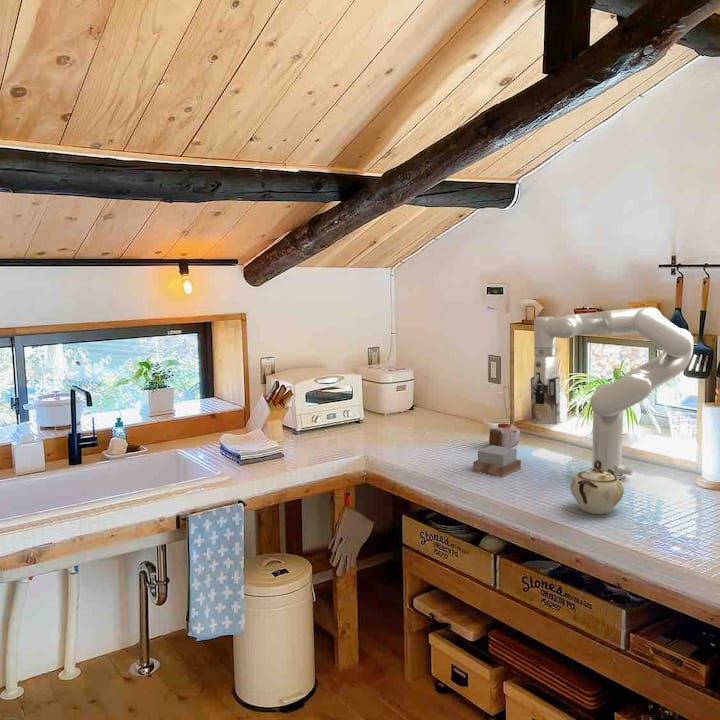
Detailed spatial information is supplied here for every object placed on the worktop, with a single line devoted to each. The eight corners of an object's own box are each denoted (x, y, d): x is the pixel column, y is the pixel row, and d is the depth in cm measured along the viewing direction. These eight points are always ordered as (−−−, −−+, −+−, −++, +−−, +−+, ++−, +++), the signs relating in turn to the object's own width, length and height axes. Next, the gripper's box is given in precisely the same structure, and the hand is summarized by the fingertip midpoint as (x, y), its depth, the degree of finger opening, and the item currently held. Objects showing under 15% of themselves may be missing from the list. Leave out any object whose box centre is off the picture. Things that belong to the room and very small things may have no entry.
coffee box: (561, 421, 251) (560, 376, 249) (557, 425, 245) (556, 379, 244) (535, 419, 255) (534, 375, 253) (530, 423, 250) (530, 378, 248)
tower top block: (516, 460, 253) (516, 449, 252) (503, 466, 245) (503, 455, 245) (491, 455, 259) (491, 445, 259) (477, 462, 251) (477, 451, 251)
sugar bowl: (589, 496, 222) (589, 449, 220) (635, 506, 212) (637, 457, 210) (556, 512, 209) (557, 462, 207) (604, 524, 198) (605, 472, 196)
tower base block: (520, 471, 253) (520, 460, 252) (502, 479, 244) (502, 467, 244) (492, 465, 261) (492, 454, 261) (473, 472, 253) (473, 461, 252)
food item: (504, 442, 293) (504, 418, 292) (521, 445, 288) (522, 421, 287) (486, 449, 283) (486, 424, 282) (504, 452, 278) (504, 427, 277)
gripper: (542, 355, 239) (542, 407, 241) (567, 349, 251) (567, 399, 253) (522, 354, 244) (523, 404, 246) (548, 349, 256) (548, 397, 258)
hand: (545, 401), depth 250 cm, fingers closed on coffee box, 7 cm apart
